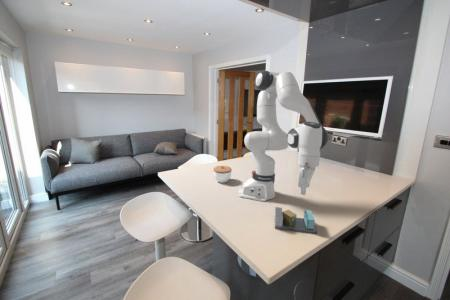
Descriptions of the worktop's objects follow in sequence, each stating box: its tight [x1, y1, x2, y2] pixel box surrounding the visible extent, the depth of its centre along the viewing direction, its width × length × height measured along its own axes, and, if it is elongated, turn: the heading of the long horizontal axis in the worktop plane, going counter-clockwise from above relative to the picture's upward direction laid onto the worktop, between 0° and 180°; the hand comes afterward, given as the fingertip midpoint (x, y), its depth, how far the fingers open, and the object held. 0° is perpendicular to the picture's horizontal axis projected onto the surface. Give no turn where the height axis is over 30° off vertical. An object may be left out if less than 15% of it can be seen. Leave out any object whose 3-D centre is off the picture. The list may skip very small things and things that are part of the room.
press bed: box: [274, 206, 318, 235], centre depth 101 cm, size 18×9×6 cm, turn 79°
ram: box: [303, 209, 316, 229], centre depth 100 cm, size 3×8×4 cm, turn 169°
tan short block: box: [282, 209, 298, 226], centre depth 101 cm, size 5×4×4 cm
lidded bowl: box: [213, 165, 233, 184], centre depth 152 cm, size 13×13×11 cm
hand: (305, 190), depth 97 cm, fingers open, 8 cm apart
